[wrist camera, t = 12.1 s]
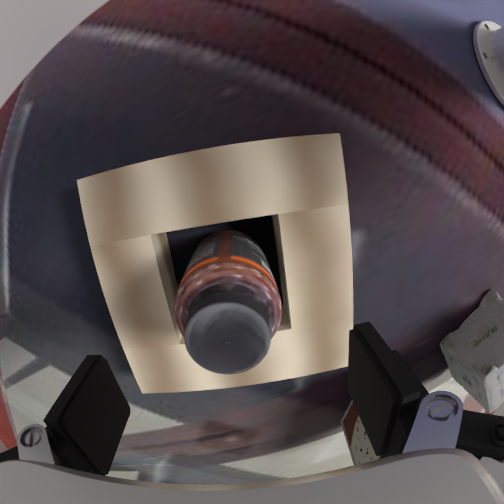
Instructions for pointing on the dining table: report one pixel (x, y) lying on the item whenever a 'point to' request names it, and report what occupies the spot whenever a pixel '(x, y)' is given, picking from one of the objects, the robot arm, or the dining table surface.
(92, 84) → the dining table surface
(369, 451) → the food container
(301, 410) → the dining table surface
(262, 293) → the supplement bottle
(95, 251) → the socket board
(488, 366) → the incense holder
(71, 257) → the dining table surface
